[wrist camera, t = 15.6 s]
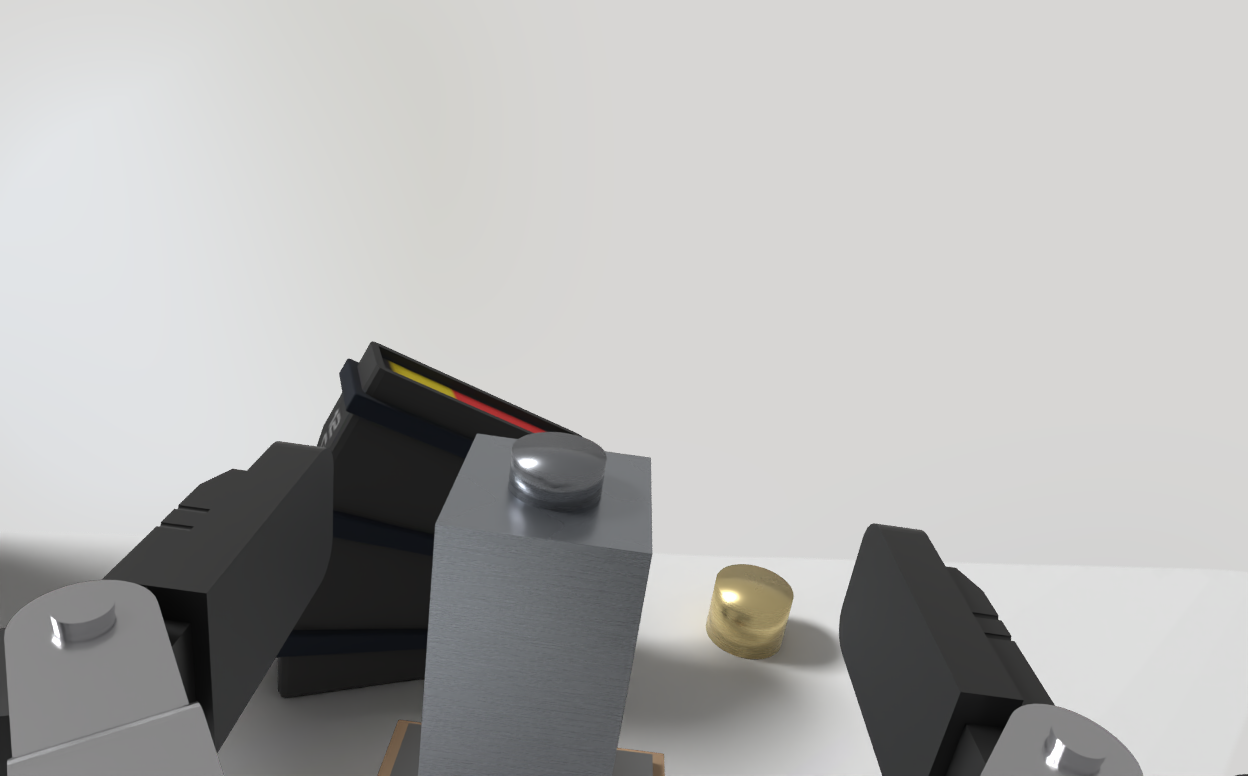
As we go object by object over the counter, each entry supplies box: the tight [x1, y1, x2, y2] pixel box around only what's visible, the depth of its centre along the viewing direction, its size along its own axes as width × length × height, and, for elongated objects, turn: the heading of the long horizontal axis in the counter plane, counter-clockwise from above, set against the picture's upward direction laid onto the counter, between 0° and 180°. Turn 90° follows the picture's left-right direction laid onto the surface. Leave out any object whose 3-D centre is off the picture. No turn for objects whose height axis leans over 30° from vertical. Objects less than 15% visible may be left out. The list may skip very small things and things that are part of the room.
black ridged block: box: [276, 342, 582, 697], centre depth 36 cm, size 4×13×15 cm, turn 111°
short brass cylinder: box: [706, 564, 793, 659], centre depth 43 cm, size 4×4×3 cm
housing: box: [418, 432, 652, 776], centre depth 23 cm, size 5×5×14 cm
